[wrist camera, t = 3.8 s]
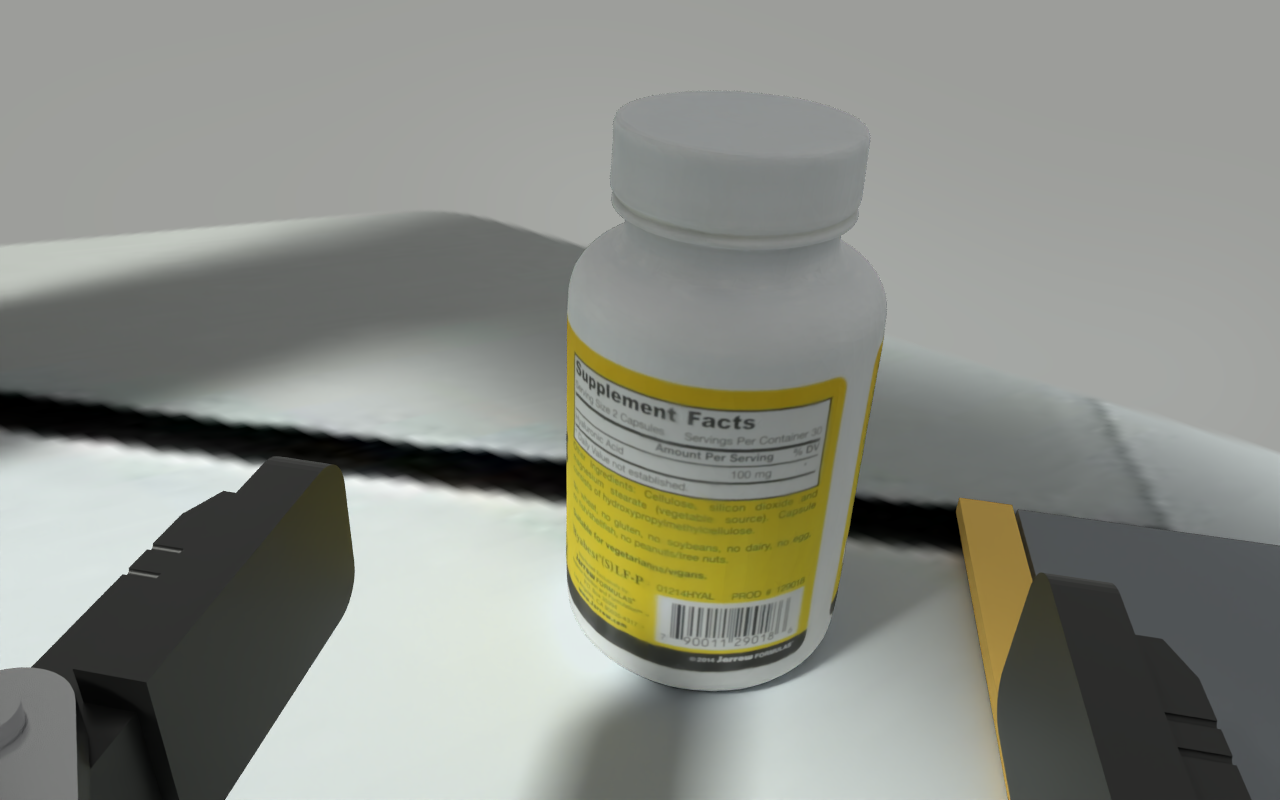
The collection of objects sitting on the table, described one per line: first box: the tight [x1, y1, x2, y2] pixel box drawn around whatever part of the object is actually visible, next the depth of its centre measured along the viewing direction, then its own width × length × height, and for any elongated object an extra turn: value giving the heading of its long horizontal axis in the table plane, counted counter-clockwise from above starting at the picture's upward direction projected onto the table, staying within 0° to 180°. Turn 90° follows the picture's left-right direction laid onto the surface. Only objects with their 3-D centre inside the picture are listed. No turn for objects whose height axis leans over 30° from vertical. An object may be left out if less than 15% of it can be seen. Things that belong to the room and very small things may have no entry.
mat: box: [956, 498, 1280, 800], centre depth 19 cm, size 10×9×1 cm
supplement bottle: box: [566, 91, 887, 691], centre depth 18 cm, size 5×5×10 cm
